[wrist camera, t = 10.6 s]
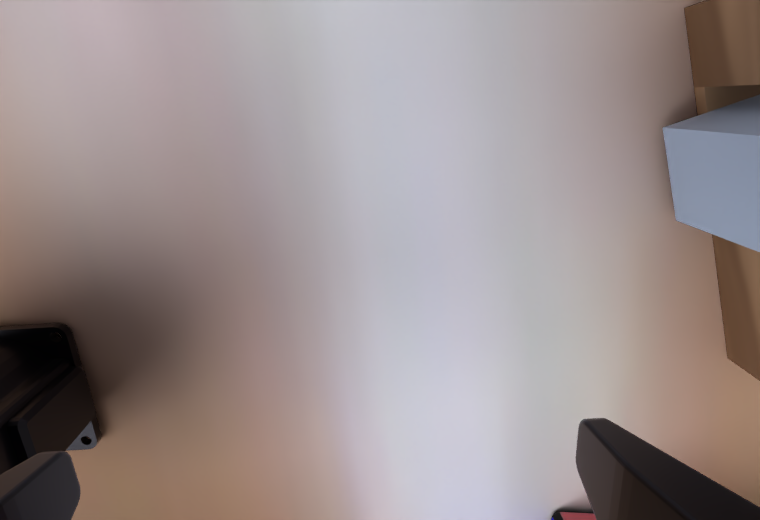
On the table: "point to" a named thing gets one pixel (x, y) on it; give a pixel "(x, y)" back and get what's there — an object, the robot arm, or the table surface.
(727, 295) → the notched walnut block
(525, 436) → the table surface
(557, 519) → the puzzle cube
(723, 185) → the pale blue block
